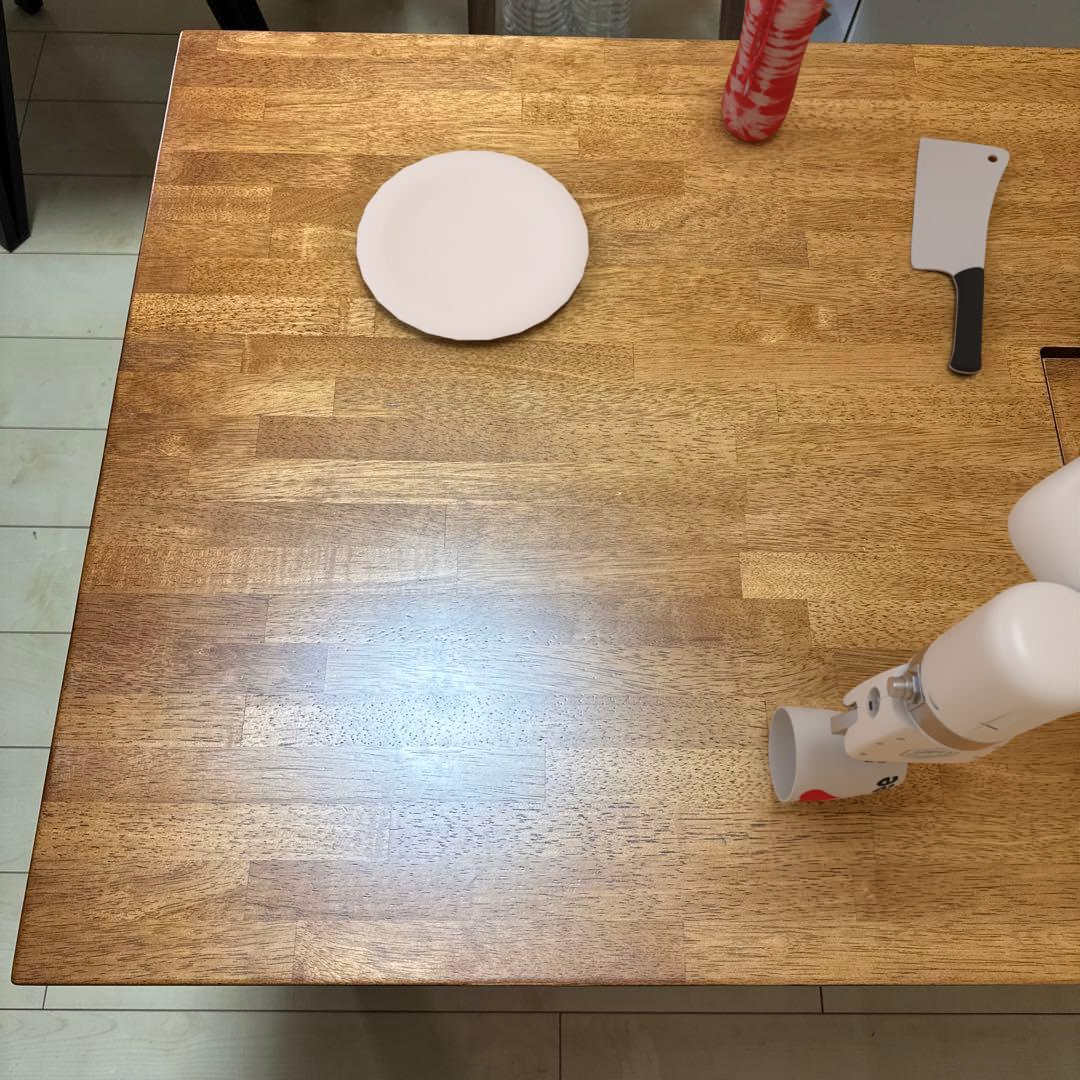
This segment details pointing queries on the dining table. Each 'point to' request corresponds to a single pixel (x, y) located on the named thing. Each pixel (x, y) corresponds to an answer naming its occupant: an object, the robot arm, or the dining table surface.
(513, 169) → the plate
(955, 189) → the kitchen cleaver
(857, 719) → the robot arm
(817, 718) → the cup
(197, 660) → the dining table surface
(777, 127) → the water bottle
